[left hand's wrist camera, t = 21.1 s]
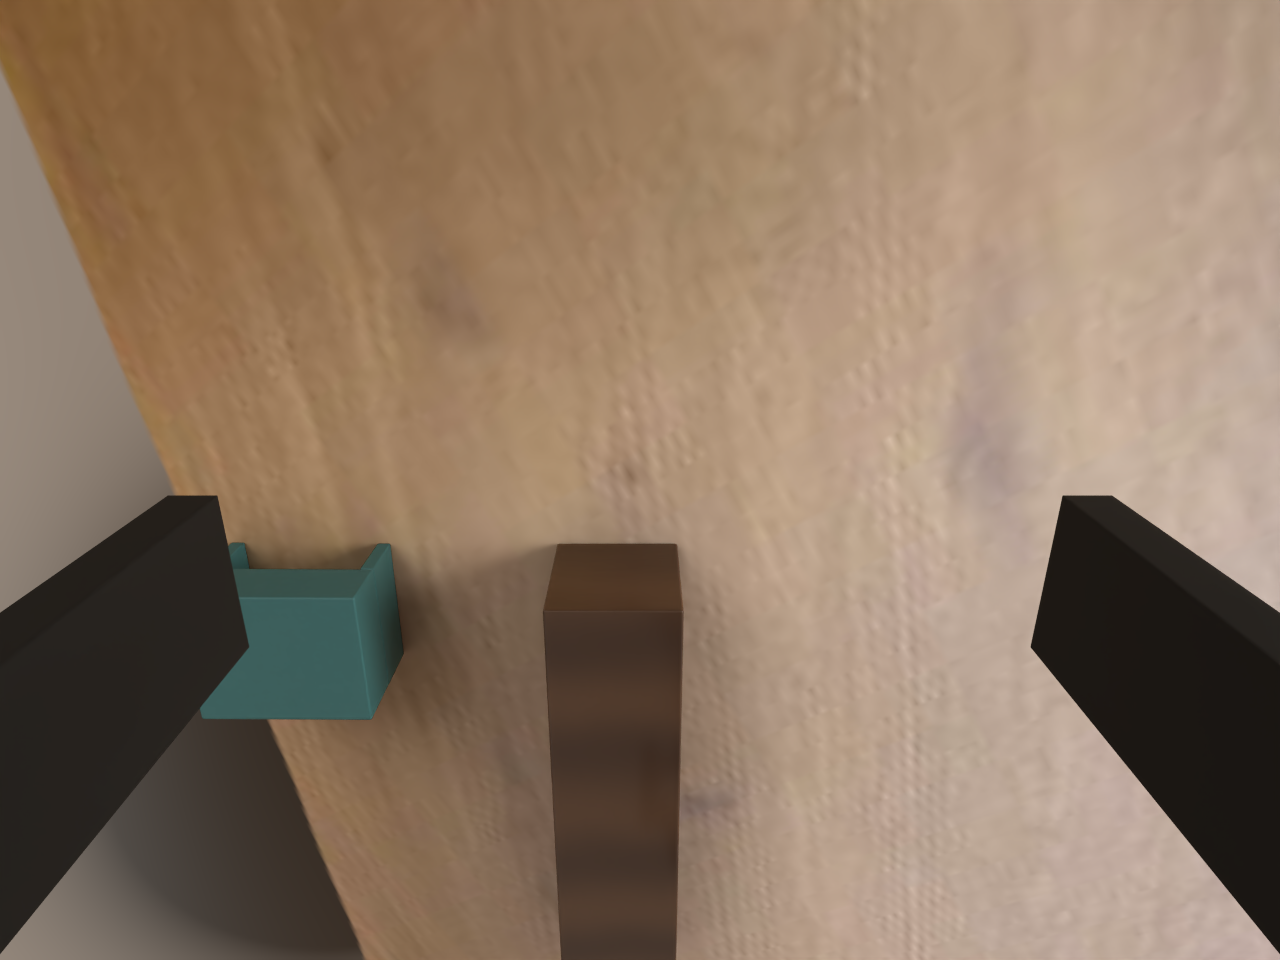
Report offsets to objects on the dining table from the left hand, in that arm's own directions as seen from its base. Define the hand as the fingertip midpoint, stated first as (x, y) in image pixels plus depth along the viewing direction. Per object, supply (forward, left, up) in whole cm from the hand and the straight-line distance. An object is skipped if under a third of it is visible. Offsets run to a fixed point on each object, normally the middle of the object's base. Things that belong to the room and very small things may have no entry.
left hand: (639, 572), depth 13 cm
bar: (+23, -1, -22) cm, 32 cm away
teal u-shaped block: (+13, -15, -22) cm, 30 cm away
